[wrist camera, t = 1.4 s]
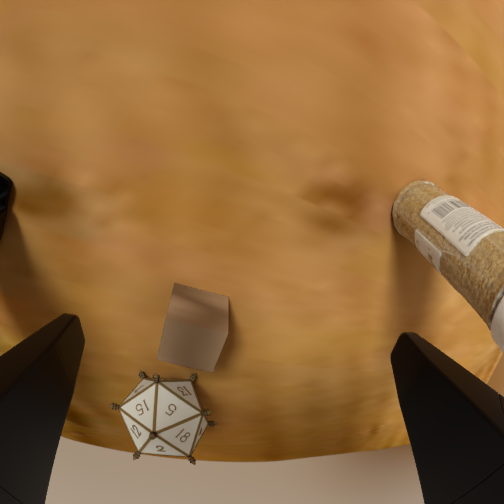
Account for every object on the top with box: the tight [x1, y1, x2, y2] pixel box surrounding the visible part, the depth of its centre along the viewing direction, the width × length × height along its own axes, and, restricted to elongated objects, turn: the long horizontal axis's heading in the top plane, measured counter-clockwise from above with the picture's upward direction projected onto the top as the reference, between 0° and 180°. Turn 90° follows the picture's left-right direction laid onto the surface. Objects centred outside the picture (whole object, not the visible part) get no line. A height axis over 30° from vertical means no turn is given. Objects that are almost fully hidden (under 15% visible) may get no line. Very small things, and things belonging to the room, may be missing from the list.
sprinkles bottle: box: [392, 180, 504, 353], centre depth 15 cm, size 5×5×14 cm
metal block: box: [157, 283, 229, 373], centre depth 22 cm, size 4×4×4 cm
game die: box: [109, 371, 216, 465], centre depth 24 cm, size 9×8×10 cm
